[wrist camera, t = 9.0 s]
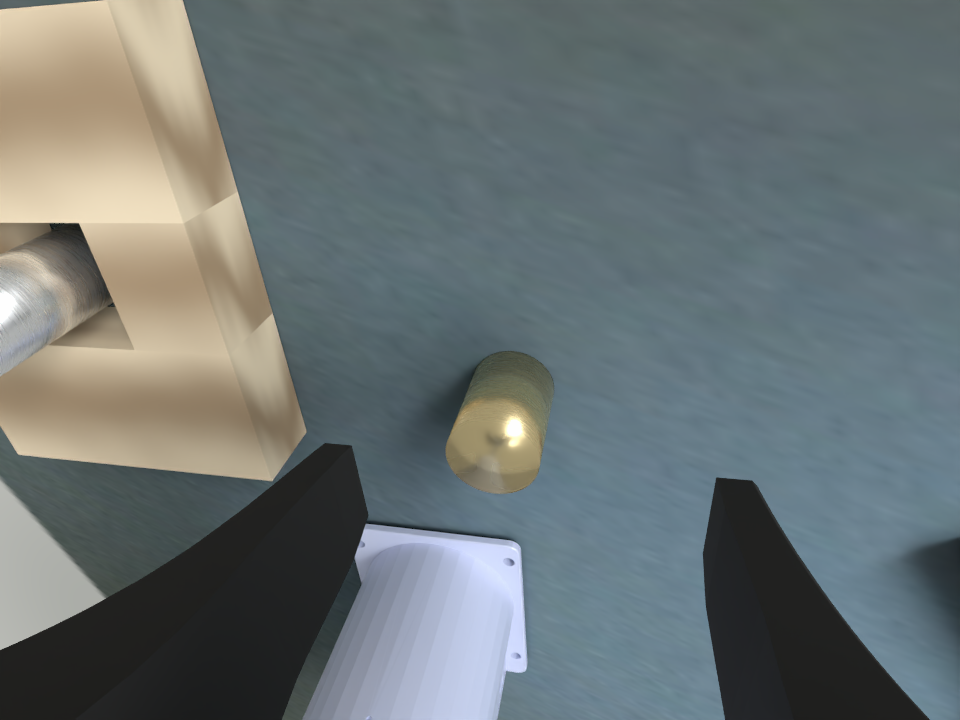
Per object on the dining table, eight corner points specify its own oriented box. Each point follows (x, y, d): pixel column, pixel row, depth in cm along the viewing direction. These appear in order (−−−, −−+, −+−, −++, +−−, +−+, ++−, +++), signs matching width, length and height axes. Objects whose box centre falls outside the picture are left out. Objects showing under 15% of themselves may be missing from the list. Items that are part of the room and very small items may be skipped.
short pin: (554, 421, 23) (540, 498, 20) (476, 415, 24) (450, 488, 20) (553, 353, 21) (538, 424, 18) (469, 349, 22) (440, 417, 19)
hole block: (306, 431, 26) (272, 481, 24) (71, 411, 29) (18, 454, 26) (180, -6, 18) (106, 0, 15) (-138, 22, 20) (-246, 31, 18)
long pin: (160, 288, 24) (8, 394, 18) (94, 285, 24) (-74, 387, 18) (132, 212, 22) (-45, 302, 16) (62, 211, 23) (-133, 297, 17)
